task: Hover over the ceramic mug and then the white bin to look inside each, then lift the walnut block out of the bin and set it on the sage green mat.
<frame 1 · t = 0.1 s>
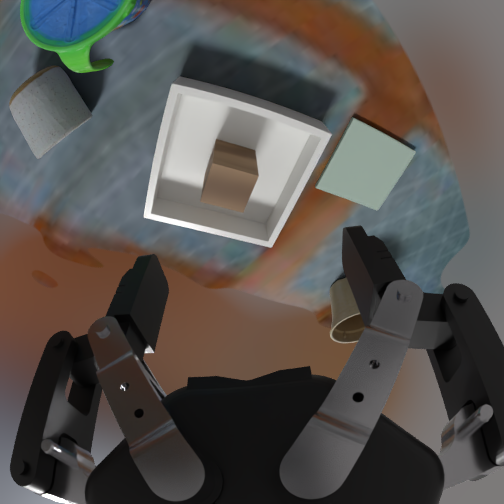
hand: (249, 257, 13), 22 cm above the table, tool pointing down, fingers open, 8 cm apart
white bin: (229, 159, 33), on the table
walnut block: (229, 161, 33), point 1 cm above the table, touching white bin
flower pot: (346, 286, 50), on the table
ceramic mug: (58, 107, 26), on the table
sage mat: (366, 166, 34), on the table
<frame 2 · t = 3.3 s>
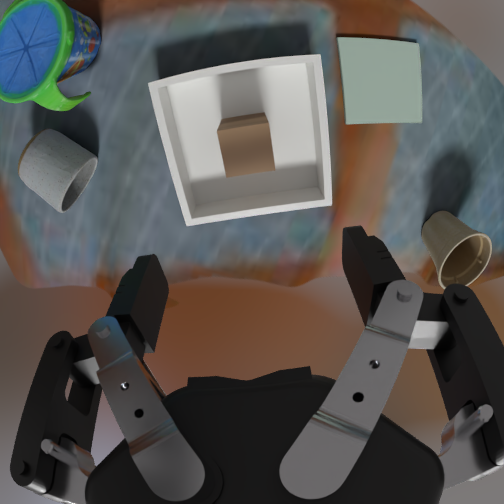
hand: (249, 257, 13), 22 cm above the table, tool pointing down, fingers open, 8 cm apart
white bin: (246, 134, 30), on the table
snack cup: (75, 45, 23), on the table
walnut block: (246, 135, 30), point 1 cm above the table, touching white bin
flower pot: (436, 227, 38), on the table
ceramic mug: (69, 166, 31), on the table
sage mat: (382, 80, 26), on the table
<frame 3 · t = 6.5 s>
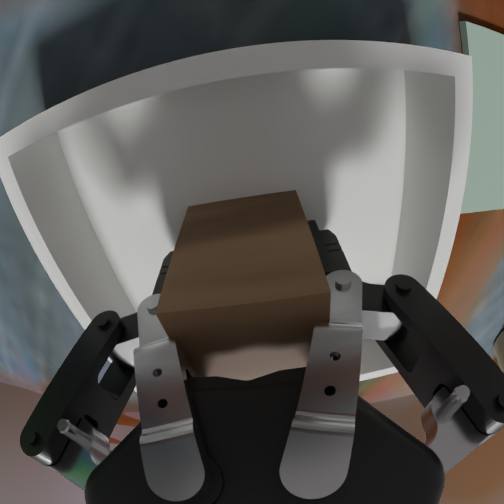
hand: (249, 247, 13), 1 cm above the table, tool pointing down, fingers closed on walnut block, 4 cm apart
white bin: (249, 235, 14), on the table
walnut block: (249, 242, 13), point 1 cm above the table, touching white bin, gripper
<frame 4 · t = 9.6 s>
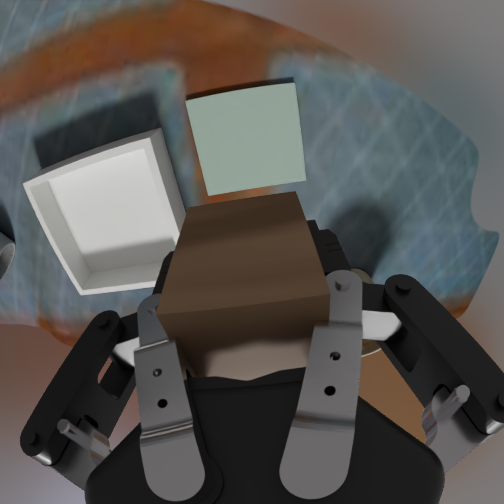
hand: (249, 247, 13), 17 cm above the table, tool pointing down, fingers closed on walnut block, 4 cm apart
white bin: (116, 213, 31), on the table
walnut block: (249, 243, 13), point 17 cm above the table, touching gripper
flower pot: (348, 284, 39), on the table
sage mat: (248, 139, 27), on the table
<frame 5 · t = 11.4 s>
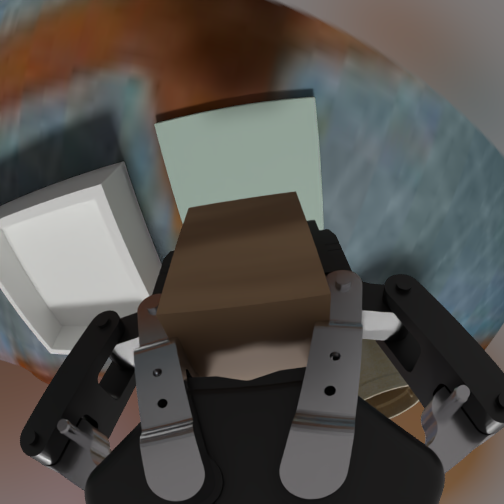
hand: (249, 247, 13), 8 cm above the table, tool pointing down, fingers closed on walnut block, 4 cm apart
white bin: (80, 266, 24), on the table
walnut block: (249, 243, 13), point 8 cm above the table, touching gripper
flower pot: (362, 342, 31), on the table
sage mat: (246, 178, 20), on the table
when the fingers open (2 cm above the table, at t = 12.9 s): walnut block drops 1 cm, resting on sage mat.
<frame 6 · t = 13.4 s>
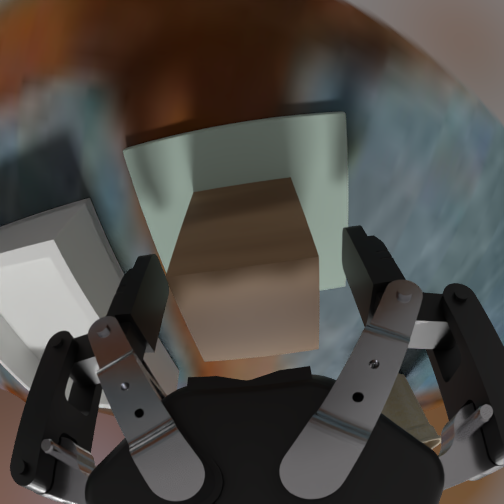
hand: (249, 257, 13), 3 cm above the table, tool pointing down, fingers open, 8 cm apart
white bin: (55, 311, 19), on the table
walnut block: (249, 226, 15), resting on sage mat
flower pot: (376, 384, 27), on the table
sage mat: (248, 220, 15), on the table
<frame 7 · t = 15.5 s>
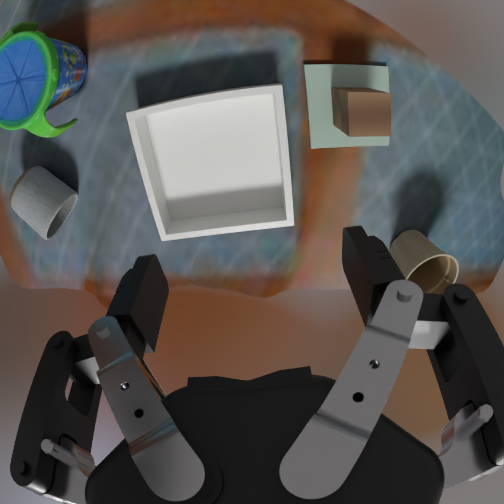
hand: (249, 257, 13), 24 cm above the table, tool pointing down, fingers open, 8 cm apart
white bin: (216, 158, 34), on the table
snack cup: (65, 71, 26), on the table
walnut block: (350, 105, 29), resting on sage mat
flower pot: (406, 245, 41), on the table
ceramic mug: (55, 196, 36), on the table
sage mat: (349, 105, 30), on the table
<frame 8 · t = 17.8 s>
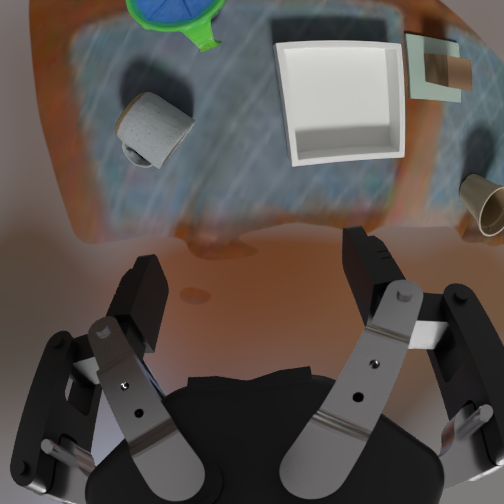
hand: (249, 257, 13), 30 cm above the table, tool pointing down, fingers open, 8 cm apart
white bin: (339, 97, 35), on the table
snack cup: (192, 4, 27), on the table
walnut block: (436, 69, 30), resting on sage mat
flower pot: (470, 188, 43), on the table
ceramic mug: (157, 130, 37), on the table
sage mat: (434, 68, 31), on the table
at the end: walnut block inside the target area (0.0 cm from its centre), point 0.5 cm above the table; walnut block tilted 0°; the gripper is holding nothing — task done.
